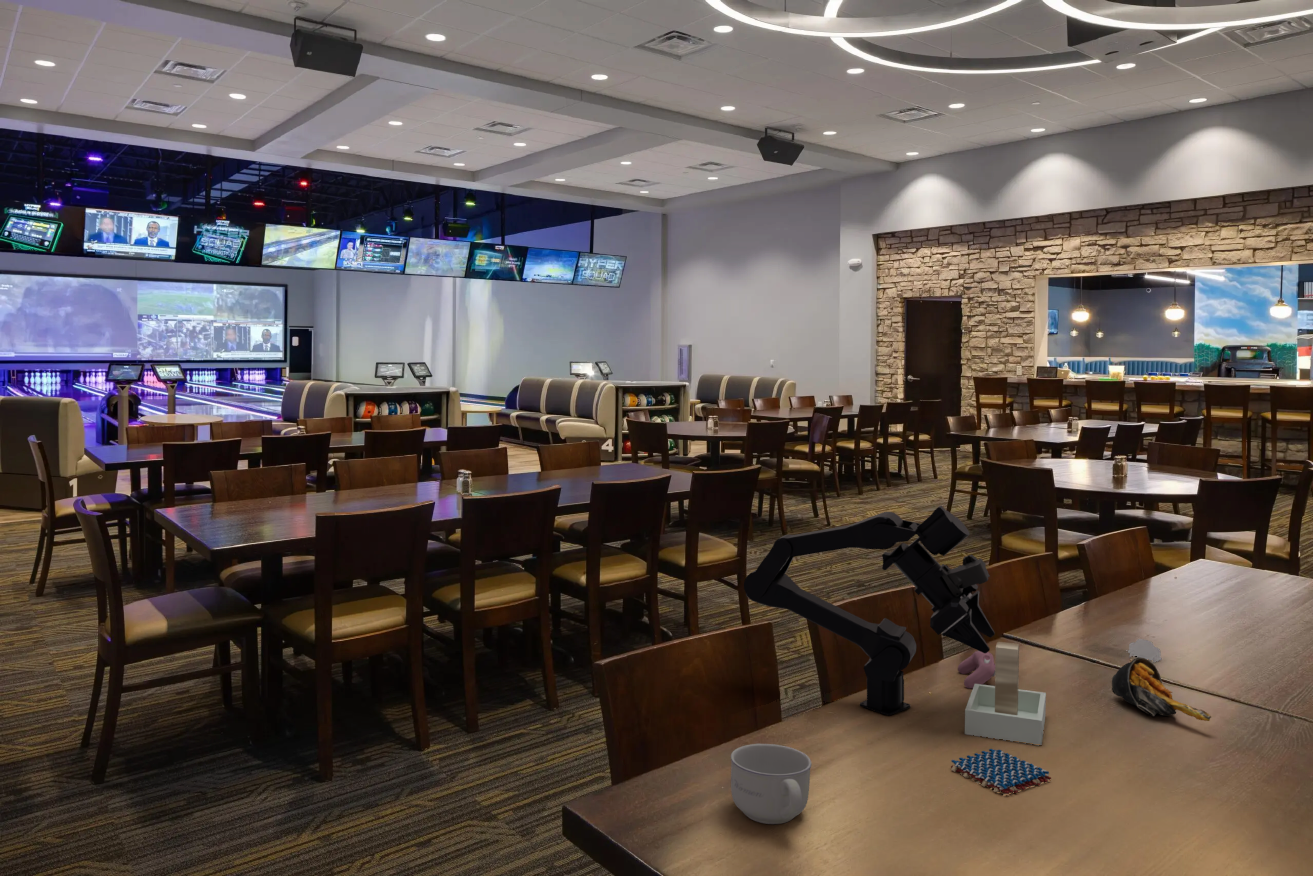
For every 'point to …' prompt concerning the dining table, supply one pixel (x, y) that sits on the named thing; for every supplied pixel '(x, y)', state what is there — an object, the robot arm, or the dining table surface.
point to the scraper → (1006, 678)
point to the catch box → (1006, 716)
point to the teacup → (770, 782)
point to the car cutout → (1144, 650)
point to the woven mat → (1000, 771)
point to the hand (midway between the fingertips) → (990, 643)
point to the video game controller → (977, 668)
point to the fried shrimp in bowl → (1149, 690)
